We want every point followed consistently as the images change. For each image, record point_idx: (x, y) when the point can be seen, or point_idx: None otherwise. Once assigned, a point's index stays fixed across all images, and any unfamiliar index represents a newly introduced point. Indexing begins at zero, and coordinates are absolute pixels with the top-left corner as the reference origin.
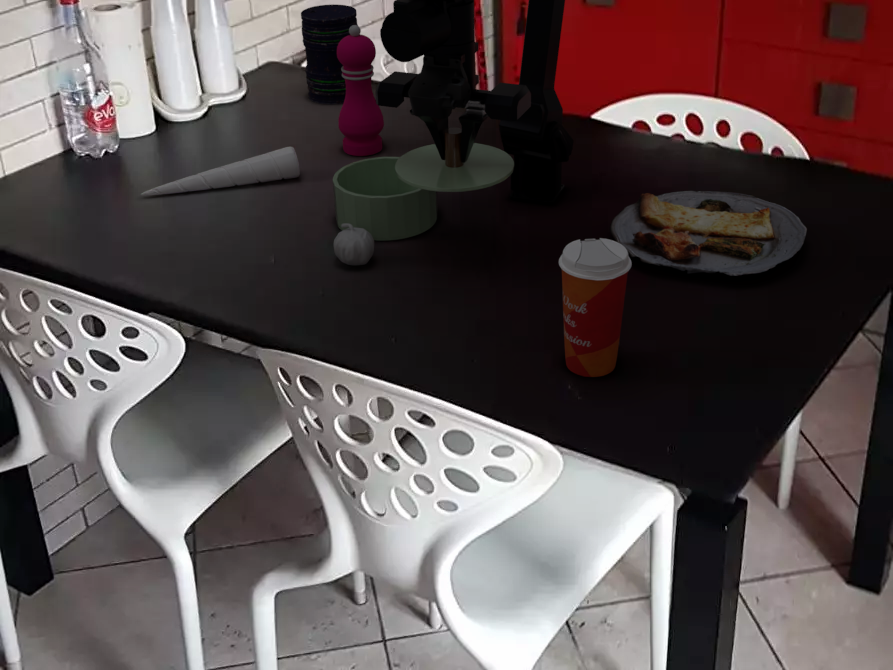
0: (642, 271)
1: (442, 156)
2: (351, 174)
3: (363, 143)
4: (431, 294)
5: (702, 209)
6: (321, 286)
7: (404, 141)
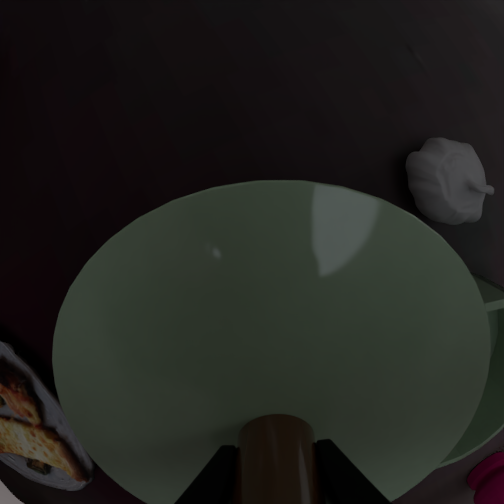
0: (7, 331)
1: (325, 448)
2: None
3: (490, 470)
4: (230, 113)
5: (40, 461)
6: (430, 76)
7: (445, 499)
